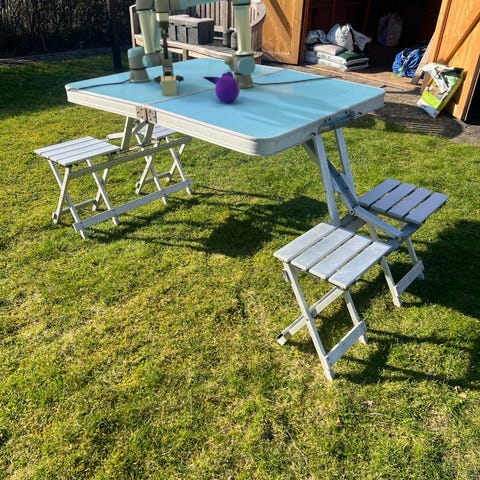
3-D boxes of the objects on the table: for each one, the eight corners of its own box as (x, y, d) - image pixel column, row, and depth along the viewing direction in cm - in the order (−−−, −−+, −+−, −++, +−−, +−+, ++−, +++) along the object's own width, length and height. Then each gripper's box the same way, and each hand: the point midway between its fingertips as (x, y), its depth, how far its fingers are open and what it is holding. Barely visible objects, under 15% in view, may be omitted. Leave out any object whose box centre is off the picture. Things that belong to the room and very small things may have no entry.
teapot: (228, 72, 362) (227, 52, 355) (221, 70, 371) (220, 50, 364) (250, 69, 372) (250, 50, 364) (243, 67, 380) (243, 48, 373)
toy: (226, 94, 295) (239, 108, 274) (200, 89, 287) (212, 104, 267) (231, 69, 287) (246, 82, 266) (206, 64, 279) (218, 77, 259)
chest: (177, 94, 297) (175, 81, 293) (162, 95, 296) (161, 81, 292) (176, 90, 308) (175, 77, 304) (162, 91, 307) (161, 77, 303)
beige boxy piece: (175, 81, 292) (174, 67, 288) (161, 81, 291) (159, 68, 287) (175, 77, 304) (174, 64, 300) (161, 77, 303) (159, 65, 298)
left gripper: (186, 80, 325) (188, 86, 307) (151, 82, 322) (151, 88, 303) (185, 69, 321) (187, 74, 303) (150, 71, 318) (149, 76, 300)
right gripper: (169, 22, 266) (172, 60, 277) (168, 19, 287) (171, 54, 298) (156, 22, 265) (160, 60, 276) (156, 19, 286) (160, 54, 297)
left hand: (169, 81), depth 303 cm, fingers open, 13 cm apart
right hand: (166, 57), depth 287 cm, fingers open, 13 cm apart
